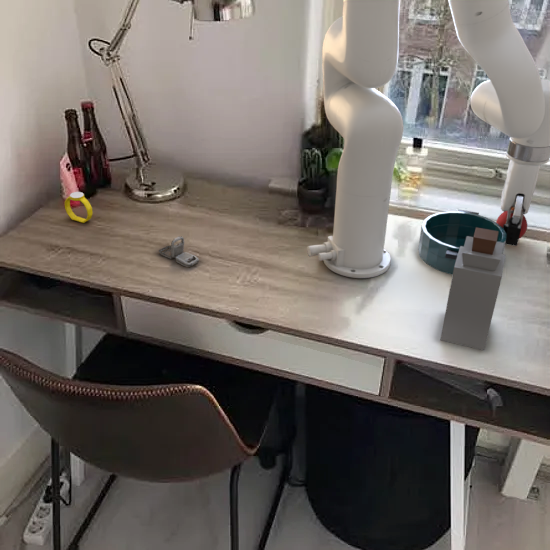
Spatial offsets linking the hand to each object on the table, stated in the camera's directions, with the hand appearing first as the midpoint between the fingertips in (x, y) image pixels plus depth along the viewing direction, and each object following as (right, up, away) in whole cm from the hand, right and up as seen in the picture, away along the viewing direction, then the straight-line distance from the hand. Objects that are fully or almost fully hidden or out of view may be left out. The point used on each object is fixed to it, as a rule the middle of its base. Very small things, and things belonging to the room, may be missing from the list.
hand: (508, 234), depth 128 cm
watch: (-87, +3, +6) cm, 87 cm away
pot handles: (-11, -1, -6) cm, 12 cm away
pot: (-11, -4, -4) cm, 12 cm away
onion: (0, -2, +1) cm, 2 cm away
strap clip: (-64, -5, -6) cm, 65 cm away
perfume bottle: (-16, -18, -24) cm, 34 cm away
